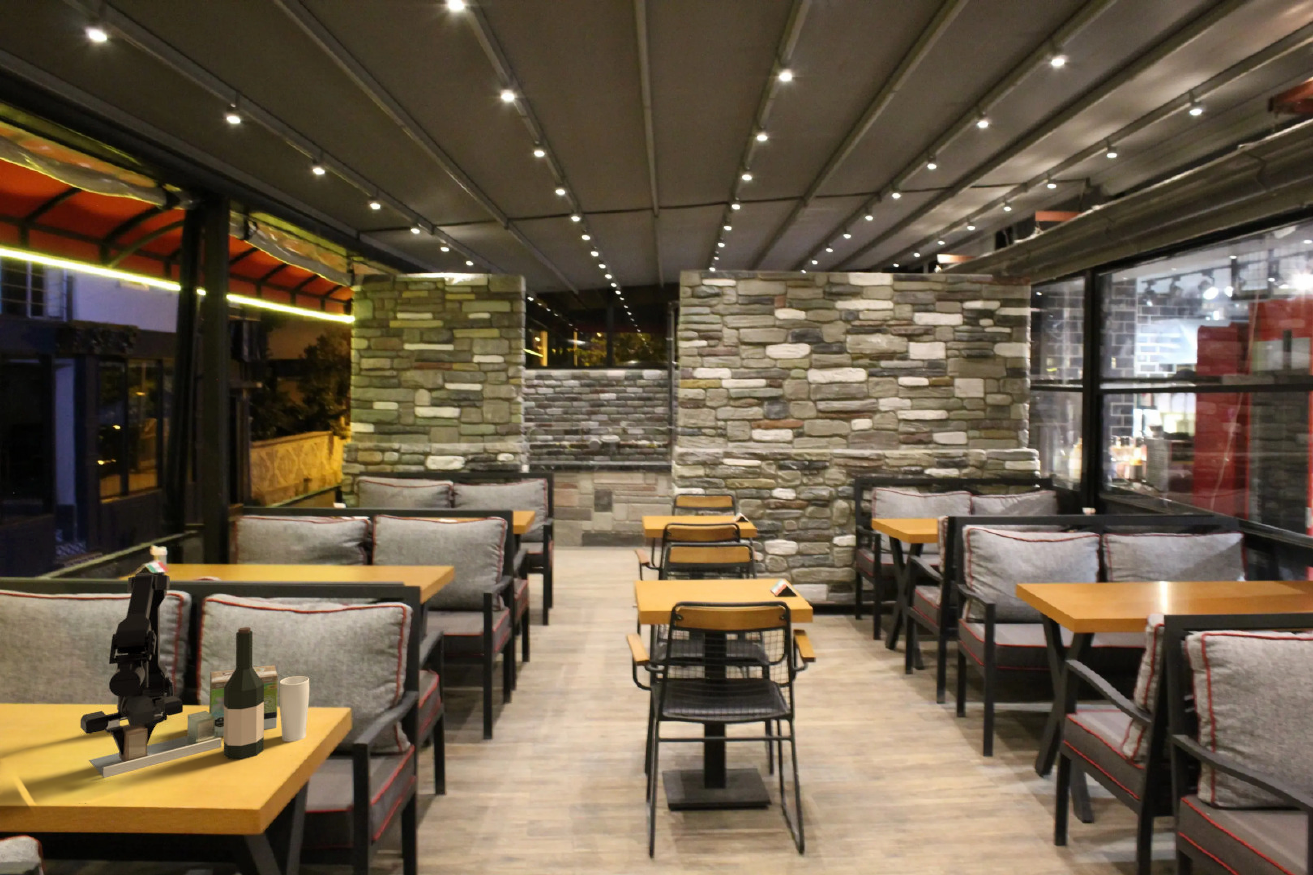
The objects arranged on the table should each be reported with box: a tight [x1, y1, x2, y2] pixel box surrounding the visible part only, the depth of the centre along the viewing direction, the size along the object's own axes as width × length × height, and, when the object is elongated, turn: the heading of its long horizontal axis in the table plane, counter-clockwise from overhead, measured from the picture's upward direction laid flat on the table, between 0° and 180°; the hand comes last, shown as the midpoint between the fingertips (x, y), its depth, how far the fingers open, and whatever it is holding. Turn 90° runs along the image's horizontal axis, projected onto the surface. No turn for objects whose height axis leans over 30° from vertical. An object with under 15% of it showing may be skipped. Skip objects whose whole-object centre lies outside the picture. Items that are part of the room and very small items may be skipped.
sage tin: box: [187, 710, 216, 745], centre depth 192 cm, size 6×4×7 cm, turn 47°
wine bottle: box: [223, 626, 265, 761], centre depth 188 cm, size 8×8×30 cm
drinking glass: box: [278, 675, 310, 743], centre depth 198 cm, size 7×7×15 cm
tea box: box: [208, 664, 279, 738], centre depth 204 cm, size 15×10×15 cm, turn 120°
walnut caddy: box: [118, 723, 148, 762], centre depth 182 cm, size 6×4×7 cm, turn 47°
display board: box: [88, 735, 222, 779], centre depth 187 cm, size 24×13×3 cm, turn 137°
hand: (133, 751), depth 182 cm, fingers closed on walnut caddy, 4 cm apart
